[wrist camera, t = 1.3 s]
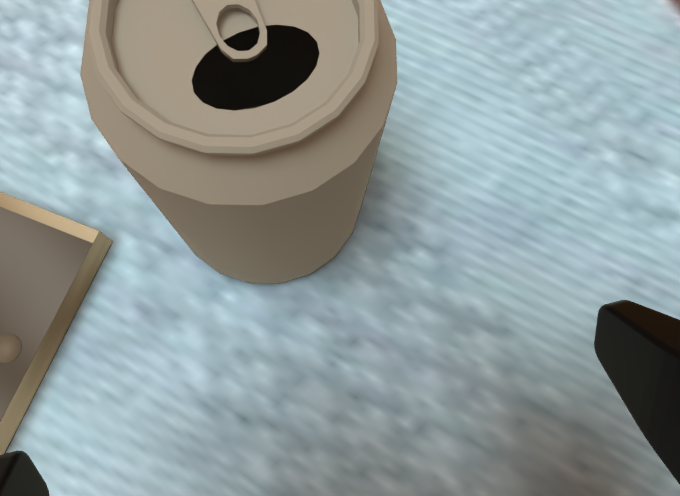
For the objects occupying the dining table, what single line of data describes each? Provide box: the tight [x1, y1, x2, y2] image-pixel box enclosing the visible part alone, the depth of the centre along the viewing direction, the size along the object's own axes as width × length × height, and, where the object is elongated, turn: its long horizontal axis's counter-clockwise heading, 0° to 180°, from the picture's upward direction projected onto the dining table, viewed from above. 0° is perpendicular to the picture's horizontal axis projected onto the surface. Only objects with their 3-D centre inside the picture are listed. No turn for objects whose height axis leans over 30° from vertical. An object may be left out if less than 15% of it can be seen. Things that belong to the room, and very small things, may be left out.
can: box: [81, 0, 397, 283], centre depth 18 cm, size 8×8×12 cm
